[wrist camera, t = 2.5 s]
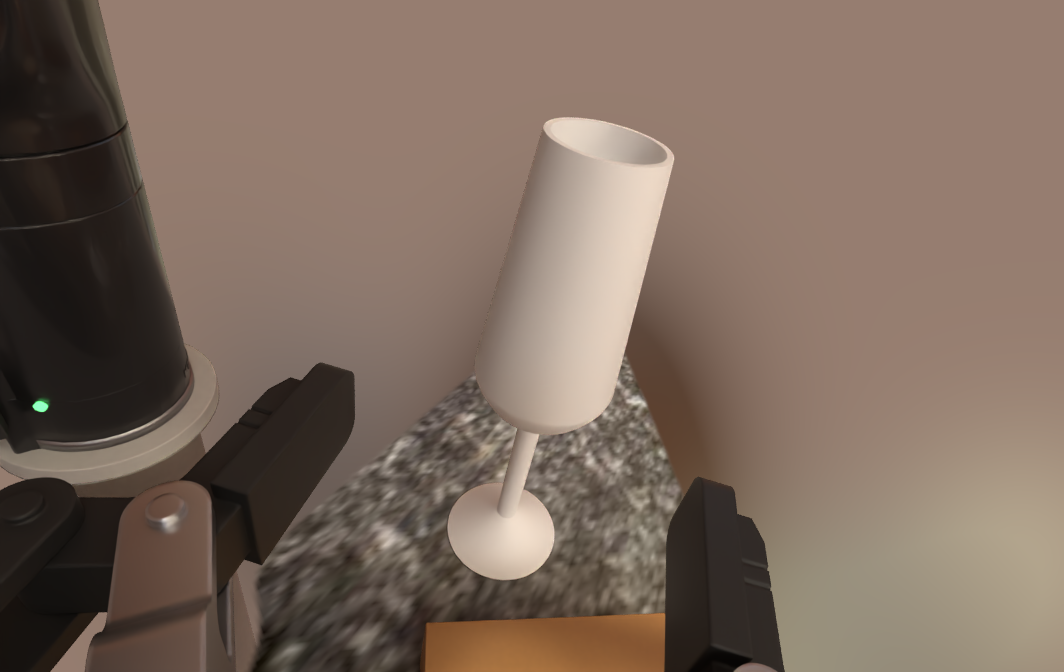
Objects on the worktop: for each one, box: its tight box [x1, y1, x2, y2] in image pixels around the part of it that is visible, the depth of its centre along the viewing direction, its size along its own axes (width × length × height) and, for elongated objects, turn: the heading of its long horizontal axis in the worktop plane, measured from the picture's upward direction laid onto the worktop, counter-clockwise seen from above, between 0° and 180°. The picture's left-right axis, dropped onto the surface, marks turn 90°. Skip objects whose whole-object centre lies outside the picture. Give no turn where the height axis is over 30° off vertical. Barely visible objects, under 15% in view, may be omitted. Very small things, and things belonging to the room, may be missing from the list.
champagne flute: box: [447, 117, 674, 580], centre depth 26 cm, size 7×7×24 cm
